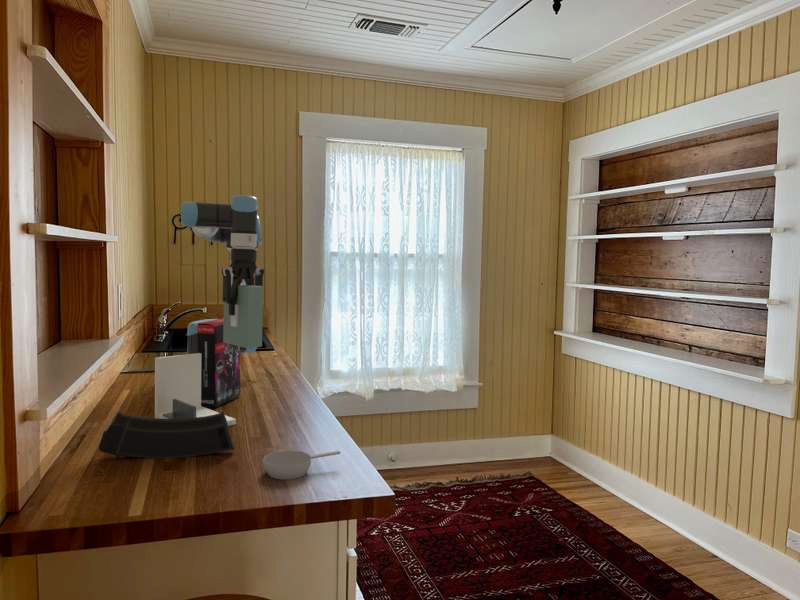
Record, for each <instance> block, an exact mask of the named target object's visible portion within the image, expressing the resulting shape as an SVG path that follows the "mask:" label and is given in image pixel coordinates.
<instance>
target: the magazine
mask: <svg viewBox="0 0 800 600" xmlns="http://www.w3.org/2000/svg"><path fill="white" fill-rule="evenodd" d="M218 413H219V414H215V415H210V416H205V417H195V418H180V419H158V418H155V417H153V418H152V417H146V416H145V417H144V416H143V417H142V416H136V415H132V414H124V413H122V411H117V413H116V415H115V416H114V415H113V416H111V418H110V420H109V422H108V424H107V426H106V429H105V430H103V432H102V436H101V439H100V442H99V446H98V450H99V451H100V452H102V453H105V454H110V455H115V458H117V459H118V458H119V457H131V458H141V457H144V459H145V458H146V459H169V458H170V459H171V458H173V459H174V458H188V457H189V458H190V457H197V456H198V457H199V456H203V455H205V456H206V455H210V454H216V453H222V452H227V451H234V450H235V449H236V448H235V447H236V446H235V444H234V441H233V437H232V434H231V430H230V426H228V423H227V420H226V417H225V415H226V414H225V411H221V412H218Z"/></svg>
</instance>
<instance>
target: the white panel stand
mask: <svg viewBox="0 0 800 600" xmlns="http://www.w3.org/2000/svg"><path fill="white" fill-rule="evenodd" d="M173 399H177V400H180V401H183V402H185V403H188V404H190V405H193V406H196V417H205V416H210V415H215V414H219V413H220V412H218V411H215V410H212V409H210V408H208V407H202V406H201V353H195V354H187V353H186V354H177V355H169V356H160V357H154V418H158V419H168V418H166V417H164V416H163V414H167V413H173ZM224 415H225V417H226V420H227V423H228V427H231V426H234V425H237V418H234V417H231V416H228V415H226V414H224Z"/></svg>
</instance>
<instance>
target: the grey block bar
mask: <svg viewBox="0 0 800 600" xmlns="http://www.w3.org/2000/svg"><path fill="white" fill-rule="evenodd" d="M163 416H164V417H166V418H168V419H180V418H195V417H196V406H193V405H190V404H188V403H185V402H183V401H180V400H177V399H173V413H167V414H163Z"/></svg>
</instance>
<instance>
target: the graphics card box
mask: <svg viewBox="0 0 800 600" xmlns="http://www.w3.org/2000/svg"><path fill="white" fill-rule="evenodd" d="M216 319H217V320H211V321H206V322H201V323H198V325H197V326H198V353H201V406H202V407H205V408H208V409H210V408H212V409H217V408H218V407H221V406H222V405H224V404H226V403H228V402H230V401H232V400H235V399H237V398H239V397H240V396H241V353H240V346H236V345H232V344H228V343H224V342H223V324H224V317H222V318H216Z"/></svg>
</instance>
